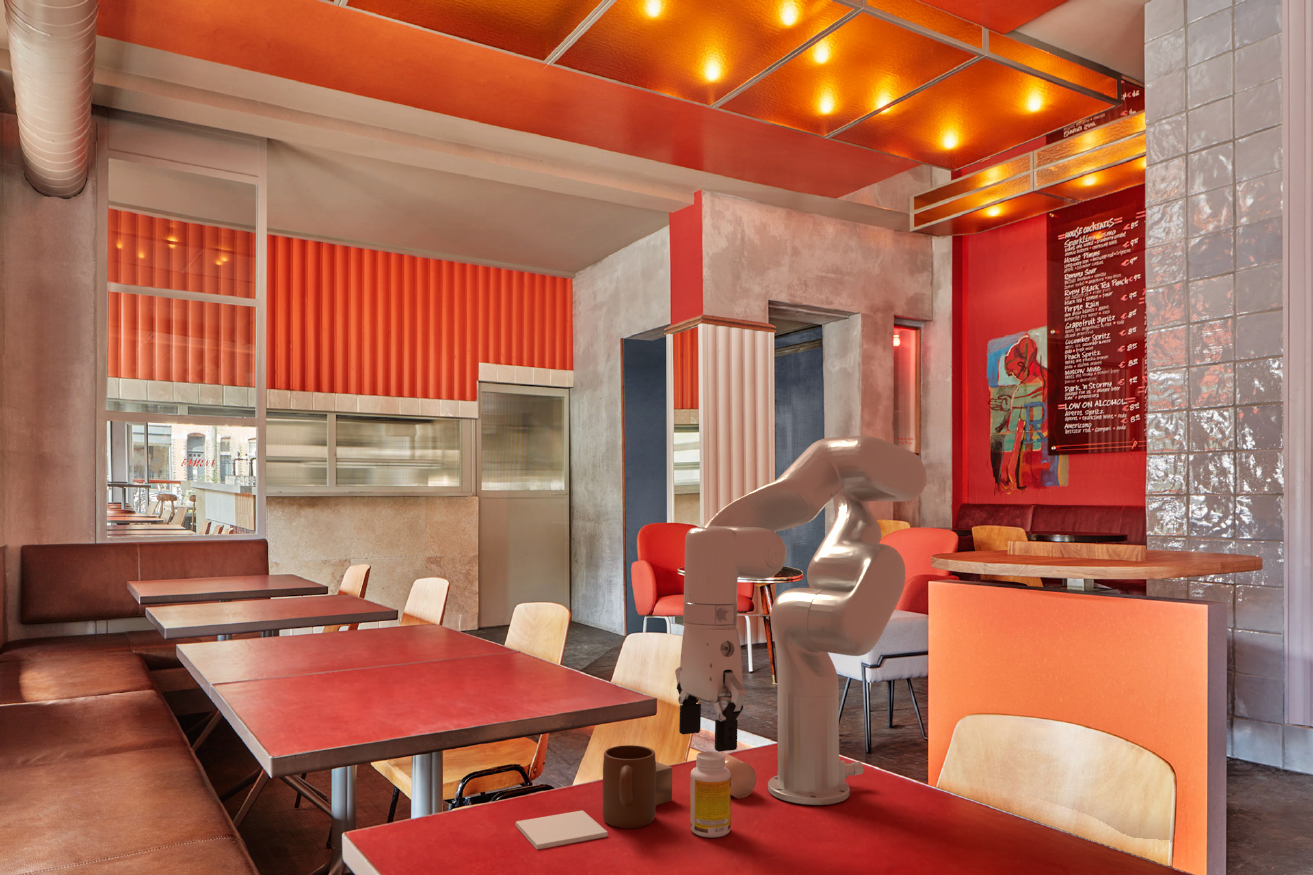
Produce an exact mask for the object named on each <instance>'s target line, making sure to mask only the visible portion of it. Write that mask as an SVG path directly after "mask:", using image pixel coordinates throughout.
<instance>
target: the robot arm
mask: <svg viewBox="0 0 1313 875" xmlns="http://www.w3.org/2000/svg"><path fill="white" fill-rule="evenodd" d="M926 485H927V471H926V467H925V465H924V463H923V461H922V460H921V457H919V456H918V455H917V454H916V453H915V452H913V451H911V450H909V449H907V448H904V447H902V446H899V445H897V444H894V443H892V442H890V441H888V440H885V439H882V438H879V437H875V436H873V435H872V436H871V435H856V436H855V435H853V436H852V435H851V436H840V437H839V436H838V437H836V436H835V437H825V438H822V439H819V440H817V441H814V442H813V443H811V445H810V446H808V447H806V449H805V450H804V451H803V453H802V454H800V455H799V456H798V457H797V458H796V460H794V461H793V463H791V464H790V466H789V467H788V468H787V469H785V470H784V471H783V473H781V475H780V476H779V477H778V478H777V479H776V480H774V481H773V482H770V483H768V484H766V485H765V484H764V486H761V487H759V488H757V489H756V490H753V491H751V492H750V493H747V494H746V495H745V494H744V495H743V496H741V497H740V498H737V499H735V500H734V501H731V502H730V503H729V504H727V505H726V506H724V507H722V508H721V509H720V510H719V511H718V512H716V514H715V515H714V516H712V518H711V519H710V520H709V521H708V522H707V523H706V524H705V525H704V526H699V527H698V526H697V527H692V528H690V529H689V530H688V531H687V533H686V534H685V542H684V574H683V576H684V579H683V580H684V582H683V613H682V614H683V617H682V620H683V621H682V626H683V632H682V639H681V649H680V650H681V651H680V663H679V665H680V666H679V667H677V668H676V669H675V672H674V673H675V679H676V690H677V693H678V697H677V698H678V699H677V702H678V704H679V724H678V726H679V728H678V729H679V730H678V732H679V734H681V735H690V734H700V732H701V726H702V725H701V723H702V722H701V721H702V719H701V718H702V716H701V715H702V713H701V712H702V704H701V703H699V702H700V700H702V701H705V702H707V703H710V704H713V707H714V710H715V712H716V715H717V718H718V719H715V721H714V750H715V752H728V751H729V752H730V751H735V750H737V748H738V721H739V720H740V718H741V713H742V711H743V710H744V702H745V699H746V697H747V690H746V689H745V688H744V687H743V663H742V662H743V661H742V648H741V646H742V645H741V639H740V634H739V628H738V626H737V625H738V624H737V623H738V620H737V619H738V581H739V579H738V578H741V579H750V580H766V579H770V578H772V577H774V576H776V575H777V574H778V573H779V572H780V571H781V570H782V569H783V567H784V566H785V563H786V561H787V555H788V554H787V547H786V544H785V542H784V539H783V538H782V537H781V536H780V535H779V534H778V533H777V532H780V531H785V530H790V529H794V528H796V527H799V526H803V525H806V524H808V523H810V522H811V521H813V520H814V519H815V518H817V516H818V515H819V514H820V513H821V512H822V510H823V509H825V507H826V506H827V505H828V503H829V502H830V501H831V500H832V502H833V508H834V510H833V511H834V519H833V521H832V524H831V526H830V528H829V530H828V531H827V533H826V534H825V536H824V538H823V539H822V541H821V542H820V544H819V546H818V548H817V550H816V551H815V552H814V554H813V556H812V559H811V560H810V562H809V564H808V566H807V567H808V568H807V571H806V572H807V573H806V580H807V583H808V585H809V587H795V588H790V589H786V590H784V591H783V592H781V593H780V594H778V595H777V597H775V600H774V601H773V602H772V603H773V604H772V607H771V610H770V624H771V625H770V626H771V631H772V636H773V641H774V646H775V653H776V655H775V656H776V666H777V667H776V669H777V775H775V776H773V777H771V778H770V779H769V780H768V782H767V790H768V792H769V793H770V794H771V795H772V796H773V797H775V798H778V799H779V800H781V801H782V800H783V801H786V802H789V803H791V804H792V803H793V804H799V805H807V806H808V805H810V806H824V805H826V806H827V805H835V804H838V803H841V802H844V801H845V800H846V799H848V798H849V796H850V793H851V791H850V785H849V784H848V783H847V782H846V781H845V780H847V779H848V778H849V776H858V775H862V774H863V773H864V770H865V769H864V766H863V764H862V762H861V761H855V762H854V761H853V762H848V763H847V762H846V761H845V760H844V759H842V760H841V759H840V723H839V721H840V718H839V716H840V715H839V714H840V712H839V711H840V710H839V709H840V708H839V707H840V706H839V705H840V704H839V703H840V702H839V701H840V700H839V698H840V697H839V693H840V692H839V691H840V689H839V686H840V685H839V684H840V683H839V677H838V672H837V668H836V666H835V664H834V662H833V660H832V658H831V656H830V655H829V654H835V655H836V654H837V655H844V656H850V657H860V656H864V655H867V654H868V653H870V652H871V651H872V650H873V649H875V647H876V645H877V644H878V642H879V640H880V639H881V637H882V635H883V633H884V631H885V629H886V626H887V624H888V623H889V621H890V619H891V617H892V615H893V614H894V611H895V610H896V607H897V605H898V603H899V602H900V599H901V596H902V595H903V591H904V588H905V583H906V566H905V562H904V559H903V557H902V555H901V554H900V552H899V551H898V550H897V549H896V548H894V547H893V546H891V545H889V544H884V543H881V540H882V528H881V526H880V524H879V522H878V519H877V518H876V516H875V515H874V513H873V512H872V510H871V508H870V505H869V502H910V501H913V500H915V499H917V498H919V496H921V495H922V493H923V492H924V489H925V487H926ZM724 705H726V706H725V708H724Z"/></svg>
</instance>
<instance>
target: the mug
mask: <svg viewBox="0 0 1313 875" xmlns="http://www.w3.org/2000/svg"><path fill="white" fill-rule="evenodd" d="M656 762H657V761H656V753H655V751H654V749H653V748H650V747H647V746H642V745H633V744H630V745H629V744H627V745H625V744H624V745H617V746H613V747H610V748H607V749H605V751H604V753H603V762H602V818H603V820H604V821H605V823H606V824H607V825H609V826H612V827H614V828H615V827H616V828H618V829H637V828H643V827H646V826H648V825H651V823H653V822H654V820H655V818H656V809H657V808H656V806H657V805H656Z"/></svg>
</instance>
